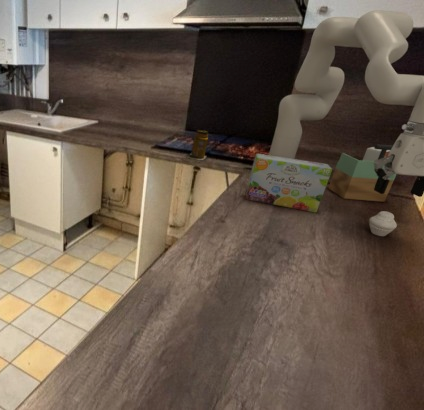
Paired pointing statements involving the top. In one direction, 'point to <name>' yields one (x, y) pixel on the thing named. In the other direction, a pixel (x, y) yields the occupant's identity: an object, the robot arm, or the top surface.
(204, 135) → the condiment
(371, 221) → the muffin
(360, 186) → the stand
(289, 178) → the snack box
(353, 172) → the block
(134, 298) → the top surface
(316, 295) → the top surface
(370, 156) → the small box
